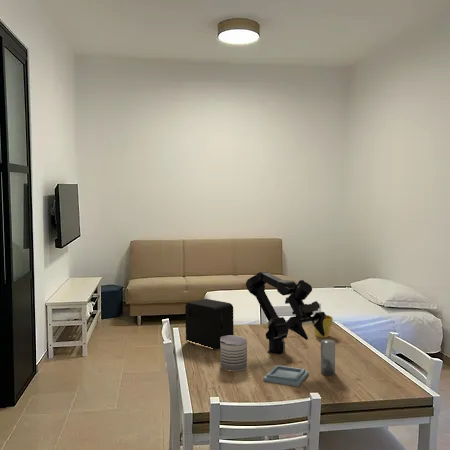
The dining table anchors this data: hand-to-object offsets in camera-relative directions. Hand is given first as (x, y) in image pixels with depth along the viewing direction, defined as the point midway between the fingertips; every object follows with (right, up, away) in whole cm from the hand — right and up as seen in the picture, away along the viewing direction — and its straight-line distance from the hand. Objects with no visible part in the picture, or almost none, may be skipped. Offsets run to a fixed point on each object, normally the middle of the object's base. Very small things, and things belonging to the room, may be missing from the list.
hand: (315, 337), depth 200 cm
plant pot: (+12, -10, +48) cm, 51 cm away
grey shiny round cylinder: (+4, -13, -5) cm, 15 cm away
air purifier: (-45, -12, +37) cm, 59 cm away
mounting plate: (-13, -14, -9) cm, 21 cm away
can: (-34, -13, +4) cm, 37 cm away
